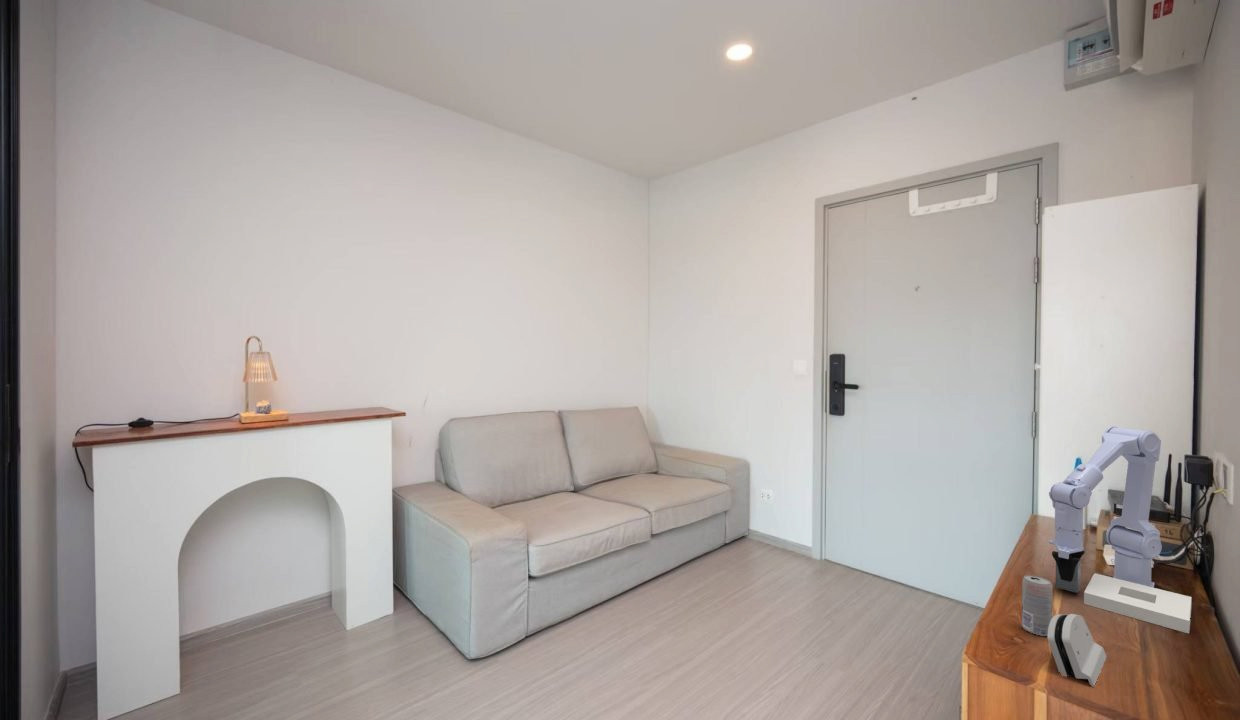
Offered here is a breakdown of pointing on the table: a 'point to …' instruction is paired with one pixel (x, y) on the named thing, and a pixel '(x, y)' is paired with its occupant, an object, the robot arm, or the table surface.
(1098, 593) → the hole board
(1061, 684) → the table surface
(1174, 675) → the table surface
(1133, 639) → the table surface
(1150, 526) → the robot arm
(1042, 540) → the table surface
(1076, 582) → the square peg
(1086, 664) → the grey black angular block
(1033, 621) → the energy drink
